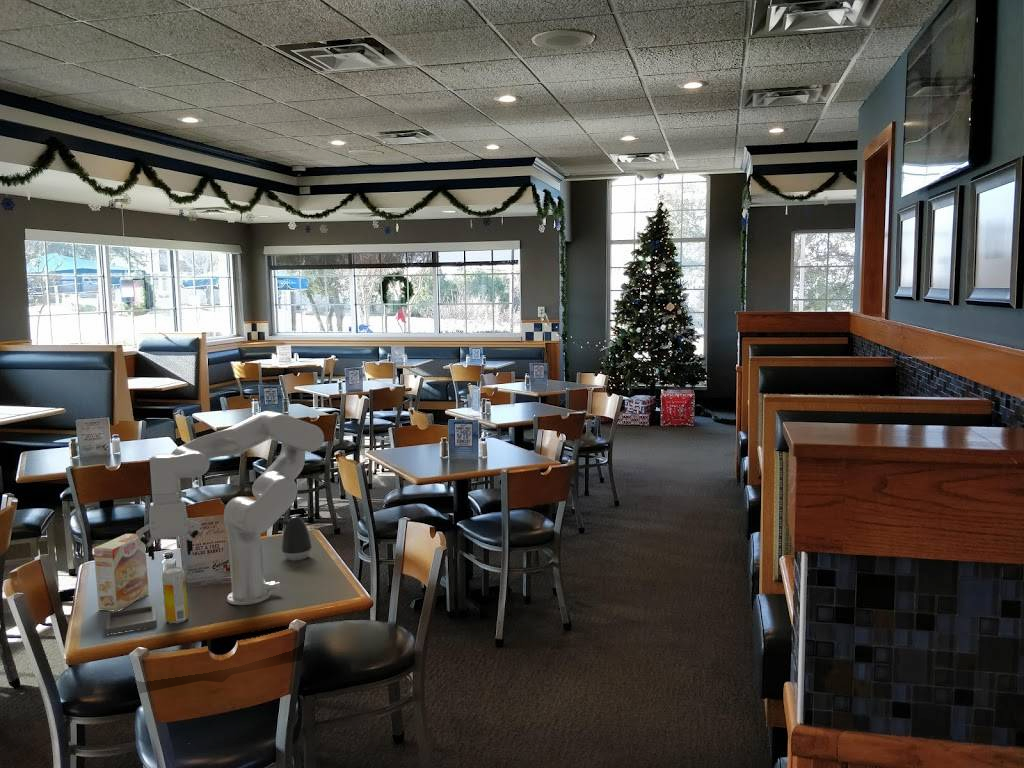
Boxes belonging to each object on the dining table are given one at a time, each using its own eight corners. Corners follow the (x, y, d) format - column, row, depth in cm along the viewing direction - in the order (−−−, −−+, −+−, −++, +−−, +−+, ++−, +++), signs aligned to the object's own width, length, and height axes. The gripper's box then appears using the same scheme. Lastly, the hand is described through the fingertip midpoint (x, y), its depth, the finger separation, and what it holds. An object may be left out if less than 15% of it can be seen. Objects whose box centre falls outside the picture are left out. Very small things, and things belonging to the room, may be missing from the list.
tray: (155, 611, 254) (155, 604, 253) (156, 626, 242) (156, 620, 241) (107, 619, 248) (106, 612, 248) (106, 635, 237) (105, 629, 236)
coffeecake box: (118, 612, 253) (112, 549, 251) (97, 610, 255) (91, 547, 253) (150, 594, 268) (145, 533, 265) (130, 592, 270) (125, 532, 267)
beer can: (181, 614, 250) (177, 565, 249) (192, 619, 247) (188, 569, 245) (161, 621, 246) (157, 571, 244) (172, 626, 242) (168, 575, 240)
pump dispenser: (282, 555, 302) (280, 513, 300) (312, 552, 304) (310, 511, 302) (280, 564, 292) (277, 521, 290) (311, 562, 294) (308, 519, 292)
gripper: (198, 491, 248) (202, 548, 251) (133, 498, 242) (138, 557, 244) (200, 496, 242) (204, 555, 244) (133, 504, 235) (138, 564, 237)
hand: (171, 556), depth 244 cm, fingers open, 9 cm apart
